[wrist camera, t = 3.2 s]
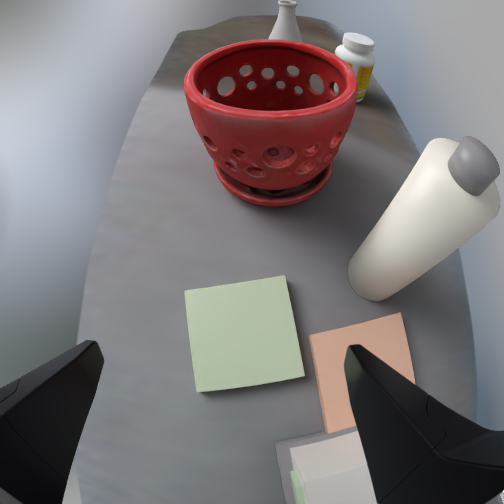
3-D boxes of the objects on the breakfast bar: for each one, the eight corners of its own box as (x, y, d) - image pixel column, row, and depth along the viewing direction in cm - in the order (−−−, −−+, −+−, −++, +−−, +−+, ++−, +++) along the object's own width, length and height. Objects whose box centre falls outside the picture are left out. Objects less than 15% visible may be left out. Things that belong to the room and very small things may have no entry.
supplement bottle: (327, 98, 33) (338, 39, 24) (328, 80, 35) (337, 27, 26) (364, 107, 32) (382, 51, 24) (362, 89, 34) (376, 37, 26)
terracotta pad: (412, 400, 18) (418, 401, 17) (325, 430, 18) (328, 433, 17) (395, 314, 21) (400, 312, 21) (308, 336, 21) (310, 334, 20)
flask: (260, 52, 39) (260, 3, 30) (270, 39, 42) (271, -4, 33) (301, 59, 38) (306, 9, 29) (308, 45, 41) (312, 1, 32)
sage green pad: (302, 375, 20) (304, 375, 19) (199, 391, 19) (196, 392, 19) (283, 279, 23) (284, 275, 22) (187, 293, 23) (184, 290, 22)
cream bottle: (404, 294, 22) (529, 199, 8) (355, 307, 22) (478, 205, 8) (388, 244, 24) (481, 122, 10) (341, 252, 24) (420, 112, 10)
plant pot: (294, 116, 31) (303, 30, 20) (354, 196, 26) (397, 101, 15) (190, 145, 29) (168, 54, 18) (231, 242, 25) (212, 141, 14)
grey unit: (418, 474, 15) (469, 498, 8) (288, 517, 14) (300, 569, 7) (412, 400, 18) (471, 405, 11) (274, 441, 18) (283, 478, 10)
